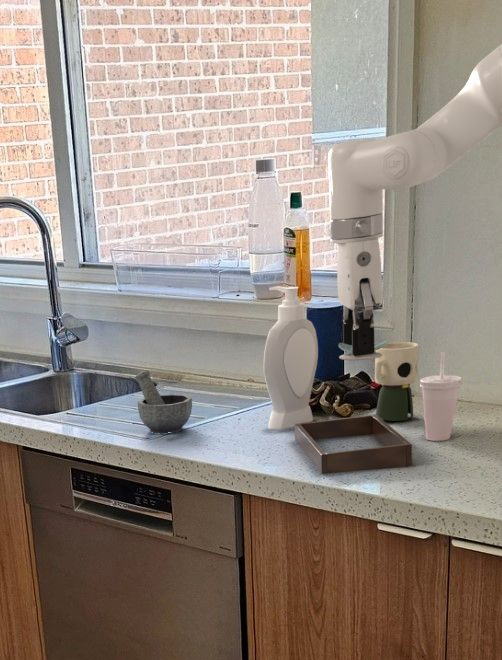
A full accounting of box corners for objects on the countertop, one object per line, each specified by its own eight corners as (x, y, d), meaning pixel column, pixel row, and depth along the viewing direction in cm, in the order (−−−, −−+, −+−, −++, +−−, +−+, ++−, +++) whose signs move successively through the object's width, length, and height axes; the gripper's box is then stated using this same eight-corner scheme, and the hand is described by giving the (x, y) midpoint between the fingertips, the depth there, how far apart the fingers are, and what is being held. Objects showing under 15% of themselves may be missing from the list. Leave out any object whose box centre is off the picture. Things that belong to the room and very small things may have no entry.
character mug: (392, 429, 210) (395, 352, 205) (357, 424, 215) (359, 349, 210) (430, 415, 215) (434, 341, 210) (396, 411, 221) (399, 338, 215)
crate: (376, 434, 208) (376, 414, 207) (411, 466, 187) (412, 444, 186) (295, 443, 209) (294, 423, 208) (321, 476, 189) (321, 454, 188)
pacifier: (382, 362, 185) (389, 353, 190) (382, 320, 183) (389, 312, 187) (333, 364, 189) (341, 355, 193) (332, 323, 186) (341, 315, 191)
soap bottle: (296, 416, 228) (296, 280, 218) (327, 421, 222) (329, 282, 212) (244, 430, 222) (242, 291, 212) (275, 435, 216) (274, 293, 206)
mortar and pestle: (202, 433, 226) (201, 368, 221) (172, 445, 220) (169, 378, 216) (154, 428, 234) (152, 365, 229) (123, 439, 228) (120, 375, 223)
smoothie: (419, 443, 198) (423, 356, 193) (415, 434, 204) (419, 349, 198) (461, 441, 197) (466, 353, 191) (456, 432, 202) (461, 346, 197)
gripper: (396, 229, 174) (397, 356, 181) (368, 222, 190) (370, 340, 197) (342, 236, 175) (345, 363, 182) (319, 229, 191) (323, 346, 198)
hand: (358, 350), depth 189 cm, fingers closed on pacifier, 5 cm apart
